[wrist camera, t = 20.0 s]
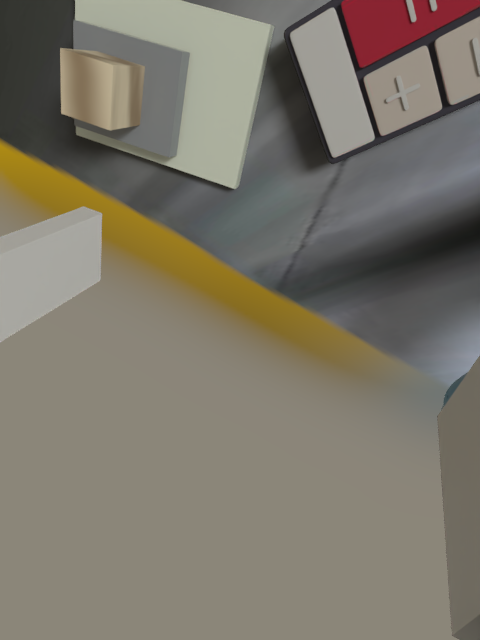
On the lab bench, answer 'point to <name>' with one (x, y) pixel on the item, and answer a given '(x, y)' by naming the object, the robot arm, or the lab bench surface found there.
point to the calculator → (384, 67)
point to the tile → (158, 89)
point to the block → (101, 88)
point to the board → (197, 78)
